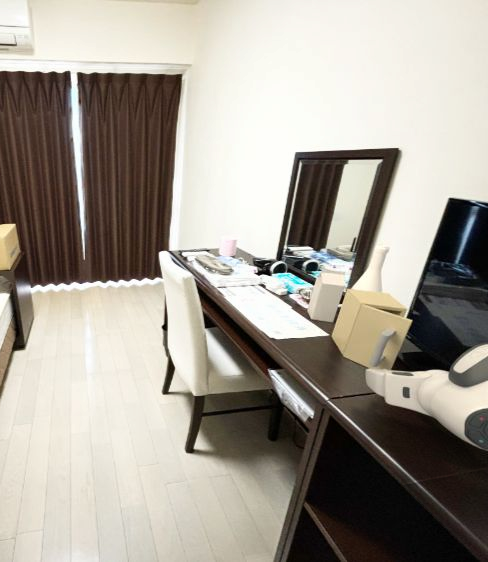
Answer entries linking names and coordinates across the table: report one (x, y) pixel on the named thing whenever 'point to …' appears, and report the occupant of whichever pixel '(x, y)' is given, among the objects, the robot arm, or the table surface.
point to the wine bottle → (373, 272)
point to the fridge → (352, 309)
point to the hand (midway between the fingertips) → (412, 374)
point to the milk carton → (326, 295)
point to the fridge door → (376, 338)
